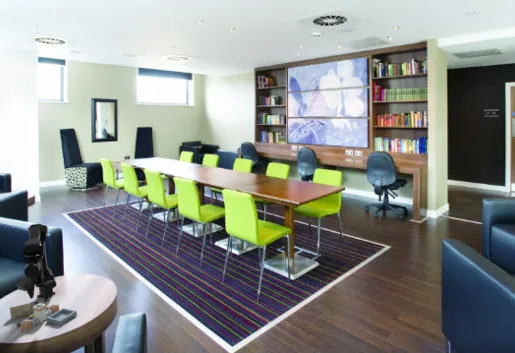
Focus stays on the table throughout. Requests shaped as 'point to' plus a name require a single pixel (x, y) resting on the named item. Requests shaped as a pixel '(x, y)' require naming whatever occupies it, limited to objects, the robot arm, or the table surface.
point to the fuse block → (36, 320)
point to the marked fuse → (40, 312)
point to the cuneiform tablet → (21, 310)
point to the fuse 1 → (25, 324)
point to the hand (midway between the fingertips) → (38, 299)
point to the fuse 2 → (54, 308)
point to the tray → (61, 316)
